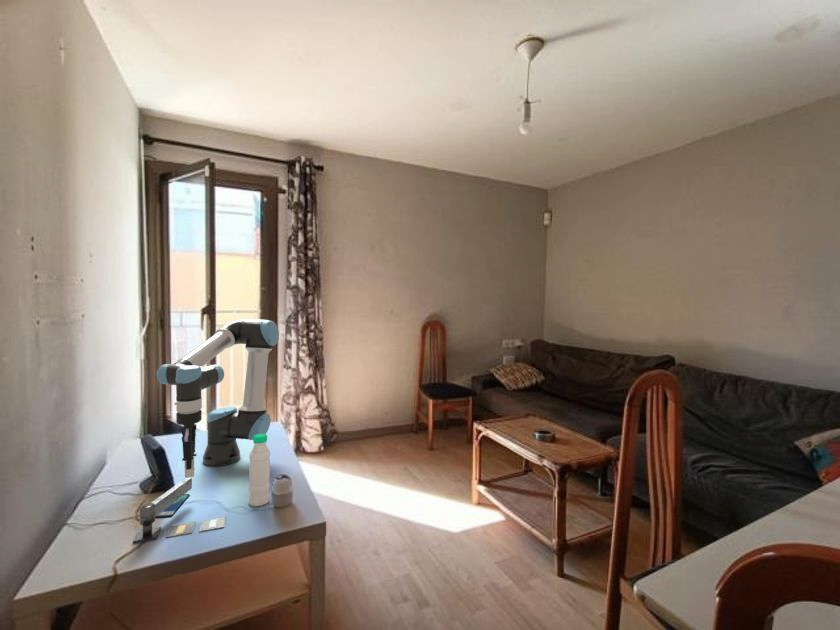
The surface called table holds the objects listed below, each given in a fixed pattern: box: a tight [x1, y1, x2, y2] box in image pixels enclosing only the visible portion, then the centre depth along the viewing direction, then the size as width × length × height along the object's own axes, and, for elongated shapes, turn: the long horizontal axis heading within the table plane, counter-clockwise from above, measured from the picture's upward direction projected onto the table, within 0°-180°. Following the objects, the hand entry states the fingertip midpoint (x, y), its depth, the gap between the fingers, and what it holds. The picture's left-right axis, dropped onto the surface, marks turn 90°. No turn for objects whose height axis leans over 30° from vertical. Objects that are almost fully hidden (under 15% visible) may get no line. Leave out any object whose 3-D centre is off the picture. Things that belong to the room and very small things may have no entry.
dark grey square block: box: [132, 523, 162, 545], centre depth 119 cm, size 6×6×4 cm
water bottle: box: [248, 433, 271, 507], centre depth 140 cm, size 7×7×25 cm
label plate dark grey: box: [198, 516, 226, 533], centre depth 126 cm, size 6×7×1 cm
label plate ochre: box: [165, 521, 196, 539], centre depth 123 cm, size 6×7×1 cm
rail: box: [139, 477, 193, 526], centre depth 128 cm, size 4×22×5 cm, turn 178°
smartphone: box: [155, 493, 191, 519], centre depth 136 cm, size 7×1×15 cm
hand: (189, 476), depth 135 cm, fingers closed
